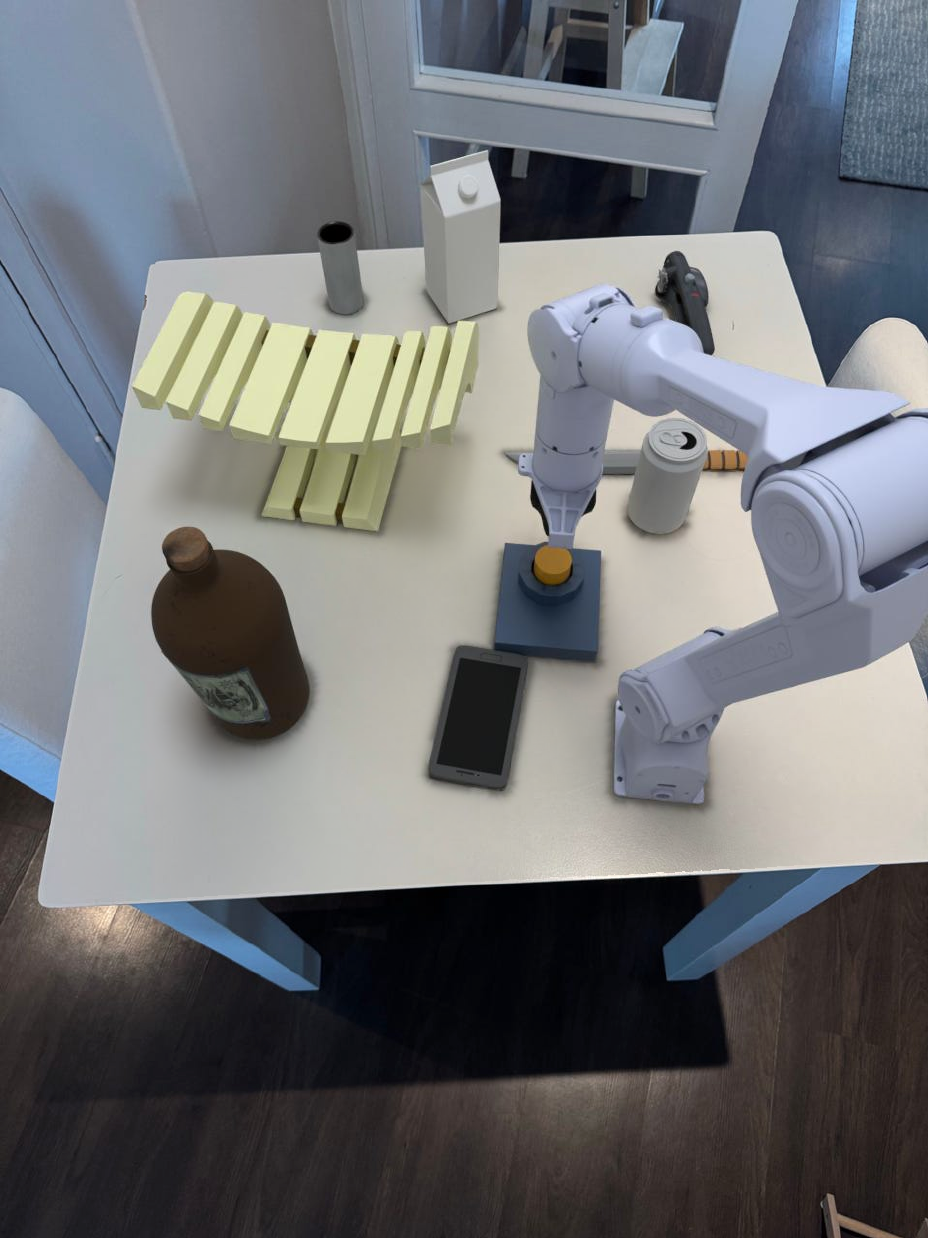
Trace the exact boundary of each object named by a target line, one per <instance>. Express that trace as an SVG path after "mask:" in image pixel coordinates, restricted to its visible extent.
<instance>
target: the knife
mask: <svg viewBox="0 0 928 1238" xmlns="http://www.w3.org/2000/svg"><path fill="white" fill-rule="evenodd" d="M640 452H641V449H605V450H604V455H603V460H602V463H603V472H602V475H618V474H619V475H623V474H624V475H629V474H630V475H631V474H633V475H635V472H636V468H637V464H638V460H639V456H640ZM522 453H523V452H504V455H505V456H507V457H508V458H509V459H510V460H511V461H513V462H515V463H516V464H518V465H519V457H520V455H521V454H522ZM747 460H748V458H747V455H746V454H744V453H743V452H741V451H739V450H738V449H736V450H734V449H730V450H729V449H723V450H722V451H721V450H720V449H712V450H711V449H708V455H707V458H706V461H705V464H704V467H703V470H708V469H710V470H722V469H723V470H733V469H745V468H746V464H747Z"/></svg>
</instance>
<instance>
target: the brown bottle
mask: <svg viewBox="0 0 928 1238" xmlns="http://www.w3.org/2000/svg"><path fill="white" fill-rule="evenodd" d="M161 551H162V554H163V556H164V558H165V561H166V565H167V567H168V568H169V570H167V571H166V573H165V574H164V575H163V576H162V578H161V579H160V581H159V583H158V585H157V586H156V588H155V591H154V594H153V596H152V601H151V606H150V617H151V618H150V619H151V627H152V628H151V629H152V632H153V636H154V639H155V641H156V643H157V645H158V647H159V649H160V653H162V654H163V656H164V657H165V658H166V659H167V660H168V661H169V663H170V664H171V665H172V667H174V668H175V670H176V671H177V673H179V674H180V675H181V677H182V678H183V679H184V680H185V681H186V683H187V684H188V685H189V687H190V688H191V689H192V690H193V692H194V693H195V694H196V695H197V696H198V698H199V699H200V700H201V701H202V703H203V704H204V705H205V707H206V708H207V709H208V711H209V712H210V713H211V714H212V716H213V717H214V718H215V719H216V722H218V724H219V725H220V726H221V727H222V728H223V729H224V730H225V731H227V732H228V733H230V734H232V735H233V736H234V737H235V736H236V737H238V738H241V739H244V740H245V739H246V740H264V739H269V738H272V737H275V736H279V735H280V734H282V733H284V732H285V731H287V730H289V729H290V728H291V727H292V726H293V725H294V724H295V723H296V722H298V720H299V719H300V718H301V717H302V715H303V714H304V712H305V710H306V708H307V705H308V702H309V698H310V681H309V678H308V674H307V671H306V667H305V664H304V662H303V659H302V655H301V652H300V647H299V645H298V641H297V637H296V634H295V630H294V627H293V623H292V619H291V615H290V612H289V607H288V604H287V599H286V597H285V594H284V591H283V589H282V586H281V585H280V583H279V582H278V580H277V579H276V576H274V575H273V574H272V573H271V572H270V570H269V569H268V568H267V567H266V566H264V565H263V564H262V563H261V562H259V561H258V560H257V559H254V558H253V557H251V556H249V555H248V554H245V553H243V552H240V551H237V550H233V549H232V550H231V549H218V548H217V549H214V547H213V545H212V543H211V542H210V541H209V540H208V538H207V536H206V534H205V532H203V531H202V530H201V529H200V528H198V527H195V526H181V527H178V528H176V529H174V530H172V531H170V532H169V533H168V534H167V535H166V536H165V538H164V539H163V541H162V544H161Z"/></svg>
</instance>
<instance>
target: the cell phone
mask: <svg viewBox="0 0 928 1238" xmlns="http://www.w3.org/2000/svg"><path fill="white" fill-rule="evenodd" d="M528 664H529V660H528V656H523V655H520V654H515V653H509V652H503V651H497V650H494V649H491V648H484V647H478V646H474V645H473V646H472V645H463V644H462V645H461V644H459V645H458V646H456V647H455V650H454V653H453V656H452V661H451V666H450V670H449V673H448V674H449V675H448V679H447V683H446V687H445V692H444V696H443V701H442V705H441V709H440V714H439V716H438V722H437V727H436V731H435V735H434V739H433V744H432V748H431V753H430V756H429V761H428V774H429V776H430V777H432V778H434V779H437V780H442V781H446V782H452V783H458V784H464V785H468V786H474V787H478V788H479V787H480V788H484V789H490V790H495V791H496V790H503V789H505V788H506V786H507V783H508V779H509V774H510V771H511V770H510V769H511V764H512V759H513V754H514V748H515V747H514V746H515V742H516V735H517V731H518V725H519V719H520V713H521V707H522V701H523V697H524V690H525V684H526V678H527V673H528V667H529V665H528Z"/></svg>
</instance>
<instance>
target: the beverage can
mask: <svg viewBox="0 0 928 1238" xmlns="http://www.w3.org/2000/svg"><path fill="white" fill-rule="evenodd" d="M642 440H643V441H642V443H641V447H640V450H641V452H640V456H639V460H638V464H637V468H636V472H635V474H634V477H633V481H632V485H631V490H630V494H629V497H628V501H627V514H628V517H629V518H630V520H631V522H632V523H633V524H634V525H635V526H637V527H638V528H639V529H641V530H642V531H645V532H648V533H651V534H655V535H657V534H658V535H661V534H662V535H663V534H664V535H665V534H670V533H672V532H675V531H676V530H678V529H679V528H680V527H681V526H682V525H683V524H684V523H685V521H686V519H687V516H688V514H689V510H690V507H691V504H692V501H693V498H694V495H695V493H696V490H697V487H698V484H699V481H700V478H701V475H702V472H703V470H704V469H703V467H704V464H705V461H706V458H707V455H708V450H709V448H708V438H707V435H706V433H705V431H704V430H703V428H702V427H700V425H699V424H697V423H696V422H694V421H692V420H690V419H686V418H682V417H667V418H663V419H660V420H658V421H657V422H656V423H653V425H652V426H651V428H650V429H649V431H648V432H647V433H646V434H645V436H644V438H643V439H642Z"/></svg>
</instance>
